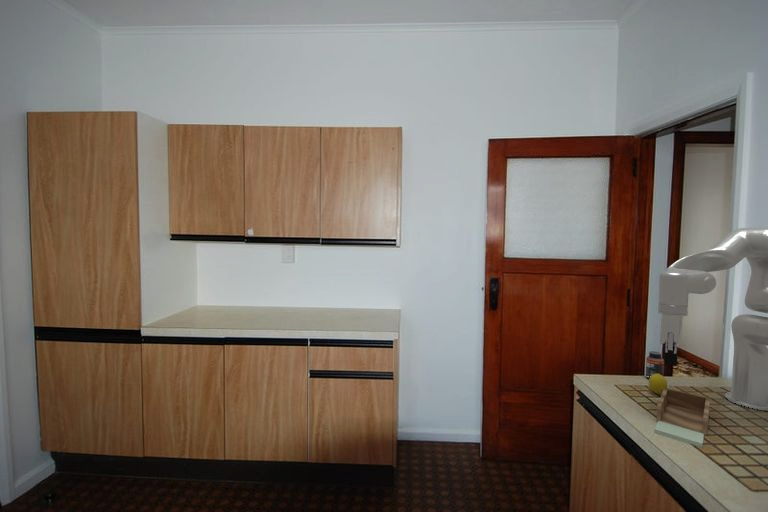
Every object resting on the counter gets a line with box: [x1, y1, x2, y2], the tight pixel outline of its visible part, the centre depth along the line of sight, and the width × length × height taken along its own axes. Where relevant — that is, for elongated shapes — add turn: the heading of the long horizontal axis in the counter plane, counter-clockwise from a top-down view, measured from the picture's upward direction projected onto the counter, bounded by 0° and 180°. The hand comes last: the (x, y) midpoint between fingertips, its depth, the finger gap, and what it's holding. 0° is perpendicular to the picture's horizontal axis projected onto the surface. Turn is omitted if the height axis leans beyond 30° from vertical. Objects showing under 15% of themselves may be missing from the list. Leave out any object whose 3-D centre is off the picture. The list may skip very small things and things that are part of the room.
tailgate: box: [654, 421, 705, 448], centre depth 108 cm, size 2×11×8 cm
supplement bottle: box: [645, 350, 665, 380], centre depth 150 cm, size 6×6×11 cm
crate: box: [655, 387, 711, 437], centre depth 118 cm, size 18×12×6 cm, turn 136°
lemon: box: [648, 373, 668, 395], centre depth 136 cm, size 6×6×8 cm
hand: (670, 364), depth 119 cm, fingers closed
